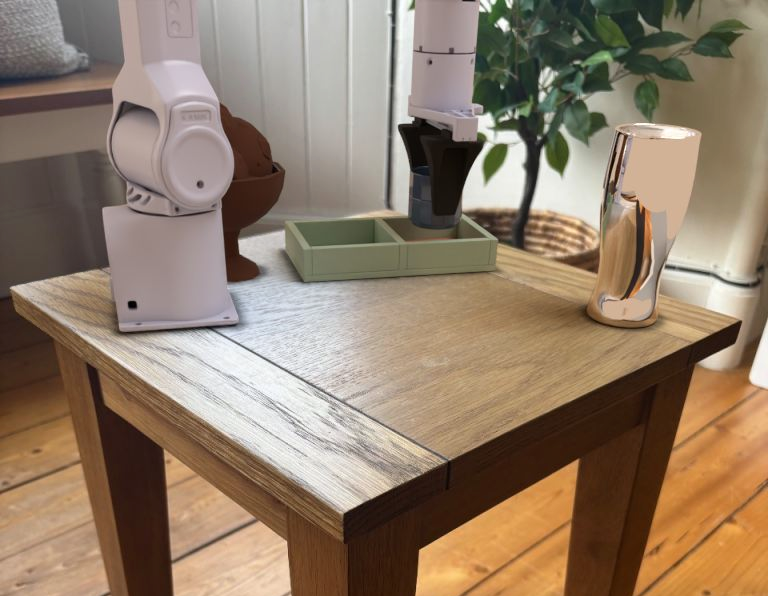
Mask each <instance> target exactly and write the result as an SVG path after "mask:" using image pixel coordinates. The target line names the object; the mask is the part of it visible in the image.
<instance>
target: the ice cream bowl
mask: <svg viewBox="0 0 768 596" xmlns="http://www.w3.org/2000/svg"><path fill="white" fill-rule="evenodd" d="M219 104H220V118H221V124H222V127H223V130H224V133H225V135H226V137H227V139H228V141H229V143H230V145H231V148H232V151H233V157H234V173H233V177H232V181H231V184H230V186H229V188H228V190H227V192H226V193H225V194H224V196H223V197H222V198H221V203H222V208H221V212H222V225H223V238H224V250H225V263H226V276H227V283H228V282H229V283H231V282H232V283H237V282H241V281H242V282H243V281H248V280H253V279H255V278H257V277H258V276H259V275H261V270H260V268H259V266H258V264H257V263H256V262H255V261H254V260H251V259H250V258H248V257H246V256H244V255H242V254H241V253H240V247H239V246H240V245H239V244H240V243H239V237H240V233H241V231H242V230H244V229H245V228H247V227H250V226H251V225H254V224H255V223H257V222H258V221H259V220H260V219H263V217H265V216H266V215H267V214H268V213H269V212H270V211H271V209H273V207H275V205H276V204H277V203H278V201H279V199H280V196H281V195H282V191H283V189H284V184H285V177H286V169H285V168H284V167H283V166H282V165H281V164H280V163H279V162H277V161H274V160H273V156H272V148H271V145H270V143H269V141H268V139H267V138H266V137H265V136H264V134H263V133H262V132H260V130H258V128H256V126H255V125H253V124H252V123H251V122H249V121H247V120H245V119H243V118H241V117H238V116H233V115H232V113H231V112H230V111H229V109H228V107H227V106H226V105H225V104H223V103H221V102H220V101H219Z"/></svg>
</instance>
